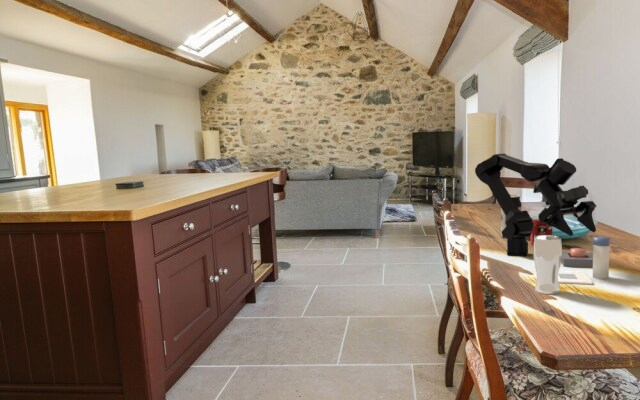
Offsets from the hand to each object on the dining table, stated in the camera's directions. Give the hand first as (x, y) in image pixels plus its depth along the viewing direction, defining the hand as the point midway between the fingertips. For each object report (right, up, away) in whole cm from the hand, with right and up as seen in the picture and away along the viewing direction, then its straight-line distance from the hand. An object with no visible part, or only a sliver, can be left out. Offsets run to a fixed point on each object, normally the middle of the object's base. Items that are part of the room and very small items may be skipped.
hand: (583, 233), depth 135 cm
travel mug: (+2, -6, +55) cm, 56 cm away
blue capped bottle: (+3, -13, -4) cm, 14 cm away
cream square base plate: (-7, -13, -3) cm, 15 cm away
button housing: (+5, -11, +12) cm, 17 cm away
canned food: (+7, -8, +39) cm, 40 cm away
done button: (+5, -9, +12) cm, 16 cm away
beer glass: (-17, -15, -13) cm, 26 cm away
